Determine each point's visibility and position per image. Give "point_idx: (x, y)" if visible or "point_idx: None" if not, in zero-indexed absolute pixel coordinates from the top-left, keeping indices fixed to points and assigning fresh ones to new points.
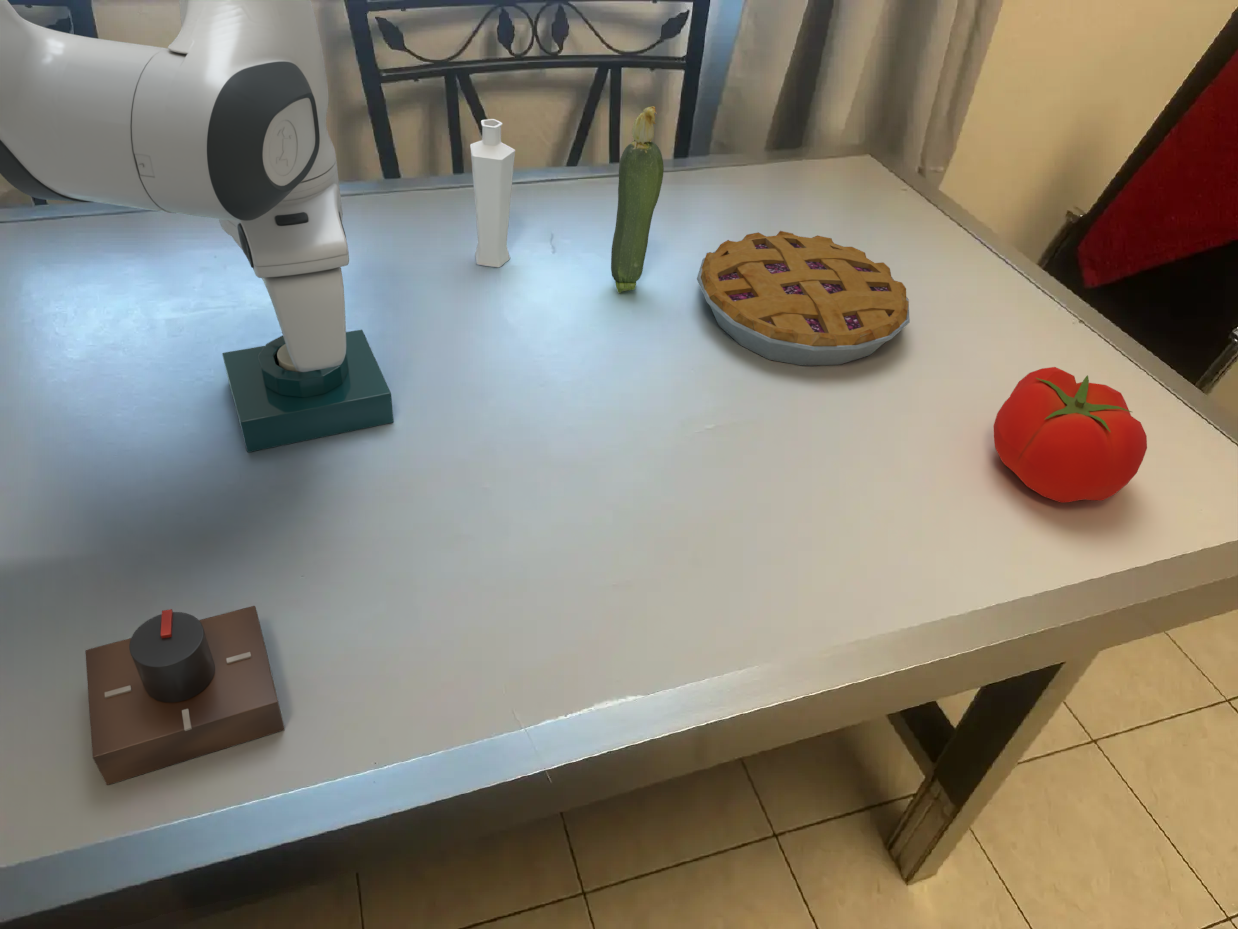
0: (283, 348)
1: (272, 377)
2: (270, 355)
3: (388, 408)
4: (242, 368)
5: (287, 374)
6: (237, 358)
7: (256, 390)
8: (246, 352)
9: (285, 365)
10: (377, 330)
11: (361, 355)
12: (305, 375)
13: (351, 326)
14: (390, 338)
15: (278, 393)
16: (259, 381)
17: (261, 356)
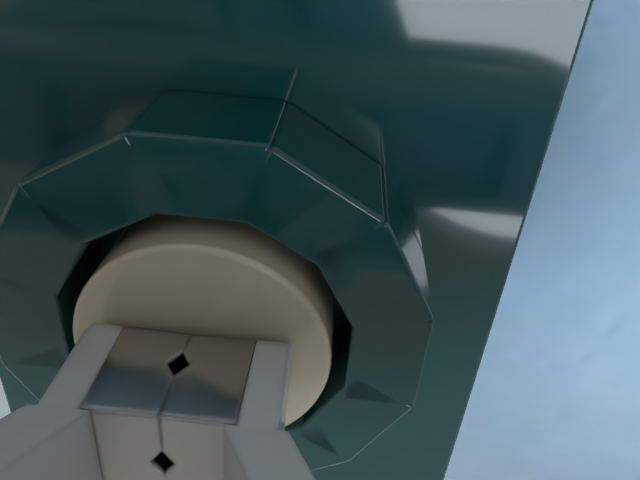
0: (270, 293)
1: (56, 159)
2: (249, 212)
3: None
4: (377, 16)
5: (35, 240)
6: (495, 14)
7: (139, 35)
8: (524, 80)
9: (112, 256)
10: (548, 462)
11: None
12: (14, 308)
13: (620, 419)
14: (487, 473)
15: (78, 132)
16: (218, 72)
17: (257, 165)
